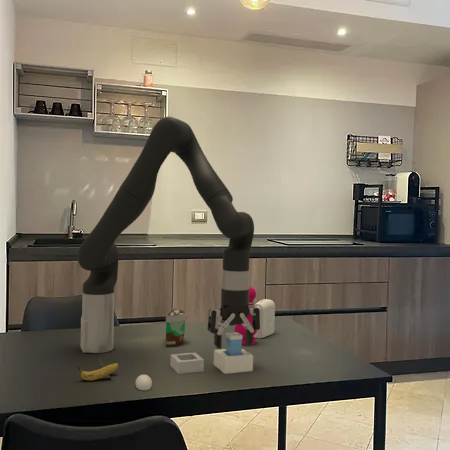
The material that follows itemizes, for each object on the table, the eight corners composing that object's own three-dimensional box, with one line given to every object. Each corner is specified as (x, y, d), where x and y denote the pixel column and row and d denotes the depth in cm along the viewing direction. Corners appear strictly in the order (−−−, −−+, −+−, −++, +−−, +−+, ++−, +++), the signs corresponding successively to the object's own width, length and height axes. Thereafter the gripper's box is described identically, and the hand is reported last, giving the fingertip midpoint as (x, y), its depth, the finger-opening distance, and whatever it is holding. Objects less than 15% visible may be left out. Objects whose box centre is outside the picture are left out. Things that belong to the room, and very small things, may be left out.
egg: (149, 386, 129) (150, 370, 129) (153, 395, 123) (153, 378, 123) (134, 387, 128) (134, 371, 128) (137, 396, 122) (137, 380, 122)
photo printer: (264, 331, 187) (265, 296, 186) (275, 333, 184) (276, 298, 184) (250, 337, 178) (251, 301, 177) (261, 339, 176) (263, 302, 175)
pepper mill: (261, 343, 171) (262, 281, 170) (246, 347, 166) (248, 283, 165) (244, 338, 176) (245, 278, 175) (229, 342, 171) (231, 280, 170)
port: (224, 377, 137) (225, 356, 137) (213, 368, 144) (214, 348, 144) (252, 374, 140) (253, 354, 140) (240, 365, 147) (240, 346, 147)
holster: (177, 377, 136) (178, 362, 136) (170, 369, 142) (170, 354, 142) (203, 374, 138) (204, 359, 138) (194, 366, 145) (195, 352, 145)
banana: (117, 376, 135) (118, 361, 135) (118, 380, 133) (119, 364, 133) (76, 379, 132) (77, 364, 132) (77, 383, 130) (77, 367, 130)
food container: (185, 348, 162) (185, 316, 162) (165, 348, 162) (165, 315, 162) (188, 338, 175) (189, 308, 174) (170, 337, 175) (170, 307, 174)
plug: (229, 370, 140) (230, 336, 139) (224, 366, 143) (225, 333, 142) (241, 369, 141) (242, 335, 141) (236, 365, 144) (237, 332, 144)
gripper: (215, 290, 135) (213, 353, 136) (265, 288, 140) (263, 348, 141) (205, 285, 142) (203, 345, 143) (253, 283, 147) (251, 341, 148)
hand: (233, 346), depth 142 cm, fingers open, 8 cm apart
